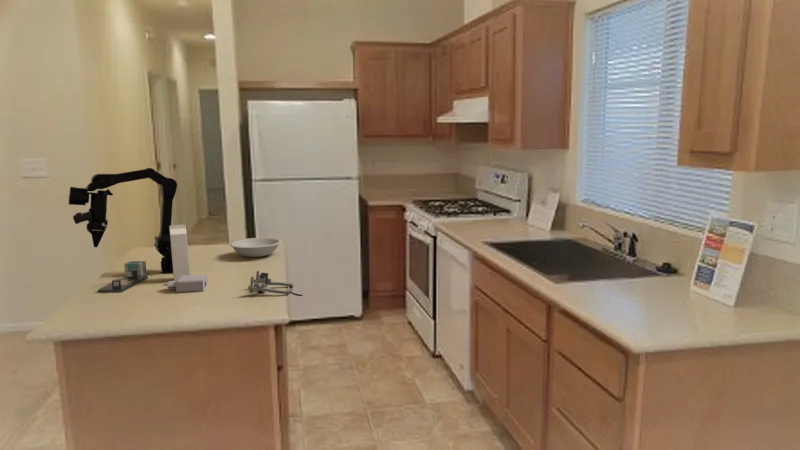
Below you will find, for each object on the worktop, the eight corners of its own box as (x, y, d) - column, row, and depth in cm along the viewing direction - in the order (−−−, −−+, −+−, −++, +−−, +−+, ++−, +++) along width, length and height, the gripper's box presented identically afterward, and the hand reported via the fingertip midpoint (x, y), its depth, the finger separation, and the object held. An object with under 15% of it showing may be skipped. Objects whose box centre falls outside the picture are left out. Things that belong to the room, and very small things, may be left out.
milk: (190, 280, 228) (186, 225, 225) (174, 282, 226) (169, 226, 222) (189, 276, 234) (185, 223, 230) (173, 278, 232) (169, 224, 228)
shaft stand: (147, 278, 233) (146, 268, 232) (121, 292, 213) (120, 281, 212) (126, 278, 233) (125, 268, 232) (97, 292, 213) (96, 281, 212)
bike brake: (245, 295, 203) (301, 302, 204) (247, 276, 202) (303, 283, 203) (253, 285, 216) (306, 292, 217) (255, 268, 215) (308, 274, 216)
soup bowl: (276, 261, 259) (275, 247, 258) (223, 262, 259) (222, 247, 258) (287, 250, 283) (286, 237, 282) (238, 251, 283) (237, 237, 282)
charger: (166, 287, 218) (207, 285, 221) (160, 294, 209) (203, 292, 212) (165, 275, 218) (206, 273, 220) (159, 282, 209) (202, 279, 211)
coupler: (146, 273, 240) (145, 261, 239) (141, 276, 236) (140, 263, 235) (130, 273, 241) (129, 261, 240) (125, 276, 236) (124, 263, 235)
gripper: (77, 202, 230) (75, 241, 232) (72, 206, 214) (70, 248, 215) (108, 204, 235) (106, 242, 236) (105, 208, 218) (103, 249, 219)
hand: (96, 245), depth 227 cm, fingers open, 9 cm apart
